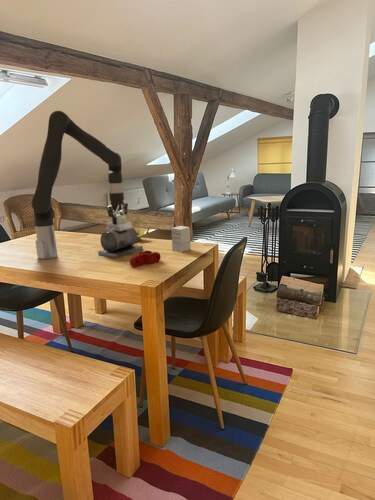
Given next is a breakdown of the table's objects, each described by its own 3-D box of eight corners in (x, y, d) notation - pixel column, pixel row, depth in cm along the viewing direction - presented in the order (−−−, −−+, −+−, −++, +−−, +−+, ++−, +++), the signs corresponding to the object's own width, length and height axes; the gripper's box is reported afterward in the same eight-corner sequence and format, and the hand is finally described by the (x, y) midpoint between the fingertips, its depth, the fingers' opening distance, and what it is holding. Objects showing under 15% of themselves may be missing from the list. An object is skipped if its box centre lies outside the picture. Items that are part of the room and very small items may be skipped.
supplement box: (181, 247, 216) (180, 225, 213) (191, 249, 211) (190, 227, 208) (171, 250, 211) (170, 227, 208) (181, 252, 206) (180, 229, 203)
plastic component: (112, 240, 229) (111, 230, 236) (114, 249, 234) (113, 239, 241) (145, 235, 231) (143, 225, 239) (146, 245, 236) (145, 235, 243)
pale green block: (120, 225, 203) (120, 216, 202) (110, 224, 207) (109, 215, 206) (127, 224, 207) (126, 215, 206) (117, 223, 211) (116, 214, 210)
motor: (117, 258, 199) (114, 226, 195) (98, 254, 207) (95, 224, 203) (142, 249, 215) (141, 220, 211) (124, 246, 223) (122, 218, 219)
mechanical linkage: (150, 259, 196) (150, 249, 195) (160, 261, 192) (160, 251, 191) (126, 266, 185) (126, 256, 183) (137, 269, 180) (136, 259, 179)
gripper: (120, 190, 210) (123, 220, 215) (101, 192, 199) (103, 225, 203) (130, 190, 206) (133, 222, 210) (111, 193, 195) (114, 226, 199)
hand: (118, 223), depth 207 cm, fingers closed on pale green block, 5 cm apart
